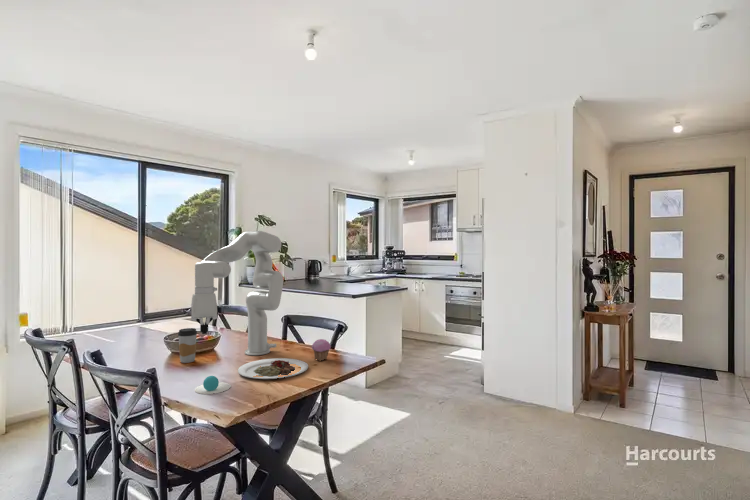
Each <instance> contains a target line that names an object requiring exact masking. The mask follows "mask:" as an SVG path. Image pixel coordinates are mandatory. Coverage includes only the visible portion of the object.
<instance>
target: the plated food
mask: <svg viewBox="0 0 750 500" xmlns="http://www.w3.org/2000/svg"><path fill="white" fill-rule="evenodd" d="M289 363H290V364H296V365H298V366H300V367H301V370H300V371H299V372H297V373H295V374H292V375H288V374H289V373H291V371H294V370H295V367H293V366H290V364H289ZM260 366H261V367H260ZM308 369H309V364H308V363H307V362H305V361H303V360H300V359H297V358H286V357H285V358H284V357H283V358H282V357H278V358H264V359H258V360H253V361H250V362H247V363H244V364H242V365H240V366H239V368H238V369H237V373H238V374H239V375H240V376H242V377H245V378H249V379H257V380H278V379H277V378H279V379H283V378H284V377H285V378H289V377H293V376H296V375H300V374H301V373H302V374H303V373H304V372H306V371H307V370H308ZM280 374H281V375H288V376H283V377H278V375H280ZM256 375H258V376H263V377H253V376H256Z"/></svg>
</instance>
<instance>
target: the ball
mask: <svg viewBox="0 0 750 500" xmlns="http://www.w3.org/2000/svg"><path fill="white" fill-rule="evenodd" d="M219 382H220V381H219V379H218V377H216V376H215V375H209V376H207V377H205V379H204V380H203V382H202V385H203V386H204V388H205V389H206V390H207V391H213V390H215V389H216V388H217V387H218V384H219Z"/></svg>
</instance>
